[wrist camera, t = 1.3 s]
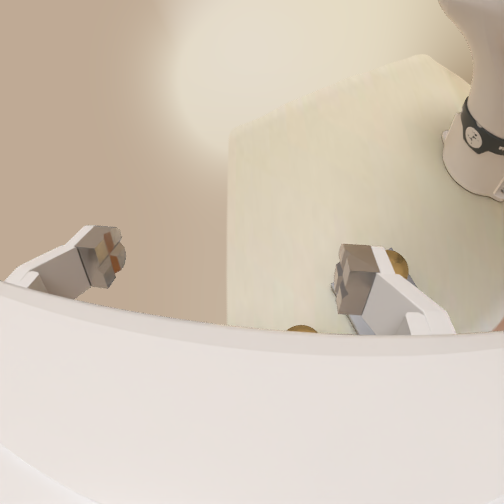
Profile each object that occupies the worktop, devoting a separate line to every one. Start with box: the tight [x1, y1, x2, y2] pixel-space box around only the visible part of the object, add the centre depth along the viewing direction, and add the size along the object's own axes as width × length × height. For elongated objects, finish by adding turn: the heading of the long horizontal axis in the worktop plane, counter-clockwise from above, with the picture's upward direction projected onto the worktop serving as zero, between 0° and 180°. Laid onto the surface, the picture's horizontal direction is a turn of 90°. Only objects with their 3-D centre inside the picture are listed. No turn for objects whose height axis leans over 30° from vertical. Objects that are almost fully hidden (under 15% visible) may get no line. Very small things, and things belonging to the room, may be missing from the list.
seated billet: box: [385, 250, 408, 280], centre depth 36 cm, size 5×5×11 cm
